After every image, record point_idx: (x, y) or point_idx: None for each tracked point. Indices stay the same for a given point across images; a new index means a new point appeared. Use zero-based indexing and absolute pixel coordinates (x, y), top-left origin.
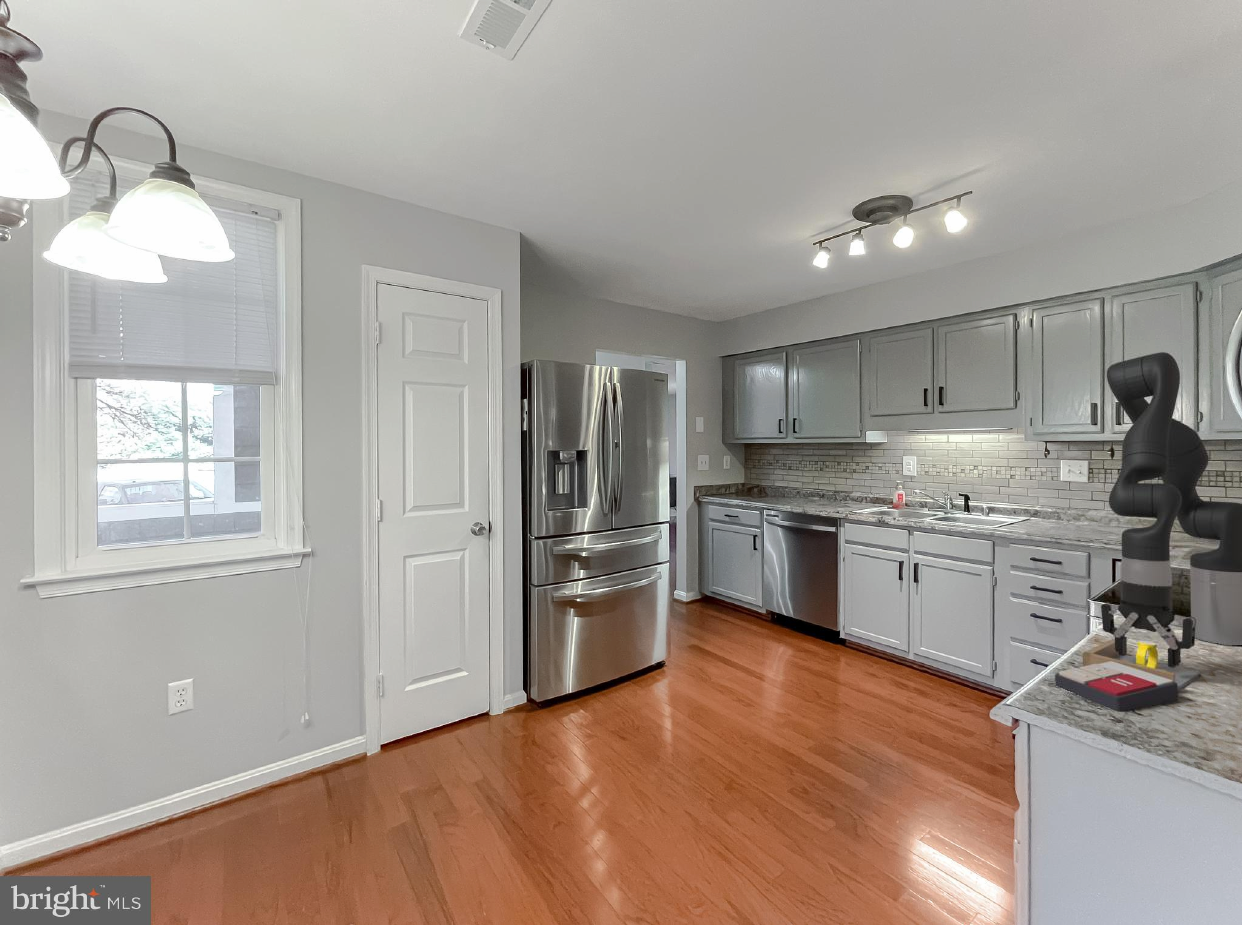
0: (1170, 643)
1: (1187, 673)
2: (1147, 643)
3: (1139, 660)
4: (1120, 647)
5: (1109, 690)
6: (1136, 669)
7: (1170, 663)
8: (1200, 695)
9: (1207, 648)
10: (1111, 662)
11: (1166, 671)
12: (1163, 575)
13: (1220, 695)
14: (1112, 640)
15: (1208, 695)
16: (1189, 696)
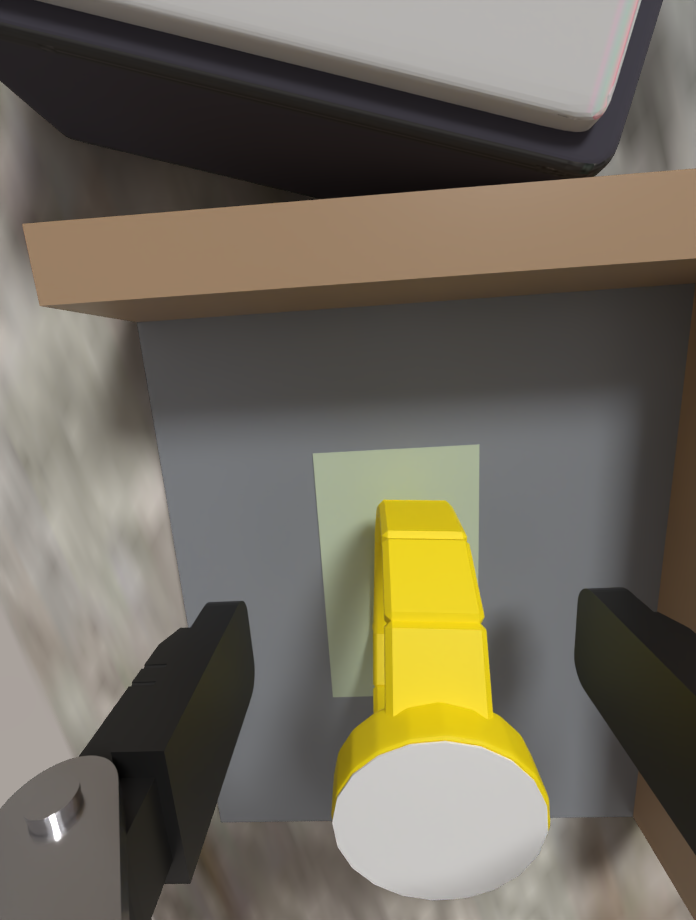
0: (60, 855)
1: (245, 741)
2: (418, 785)
3: (424, 507)
4: (659, 633)
5: None
6: (297, 8)
7: (211, 614)
8: (58, 415)
9: None
10: (588, 50)
11: (107, 288)
12: None
13: (14, 526)
14: None
15: (40, 461)
16: (75, 323)
